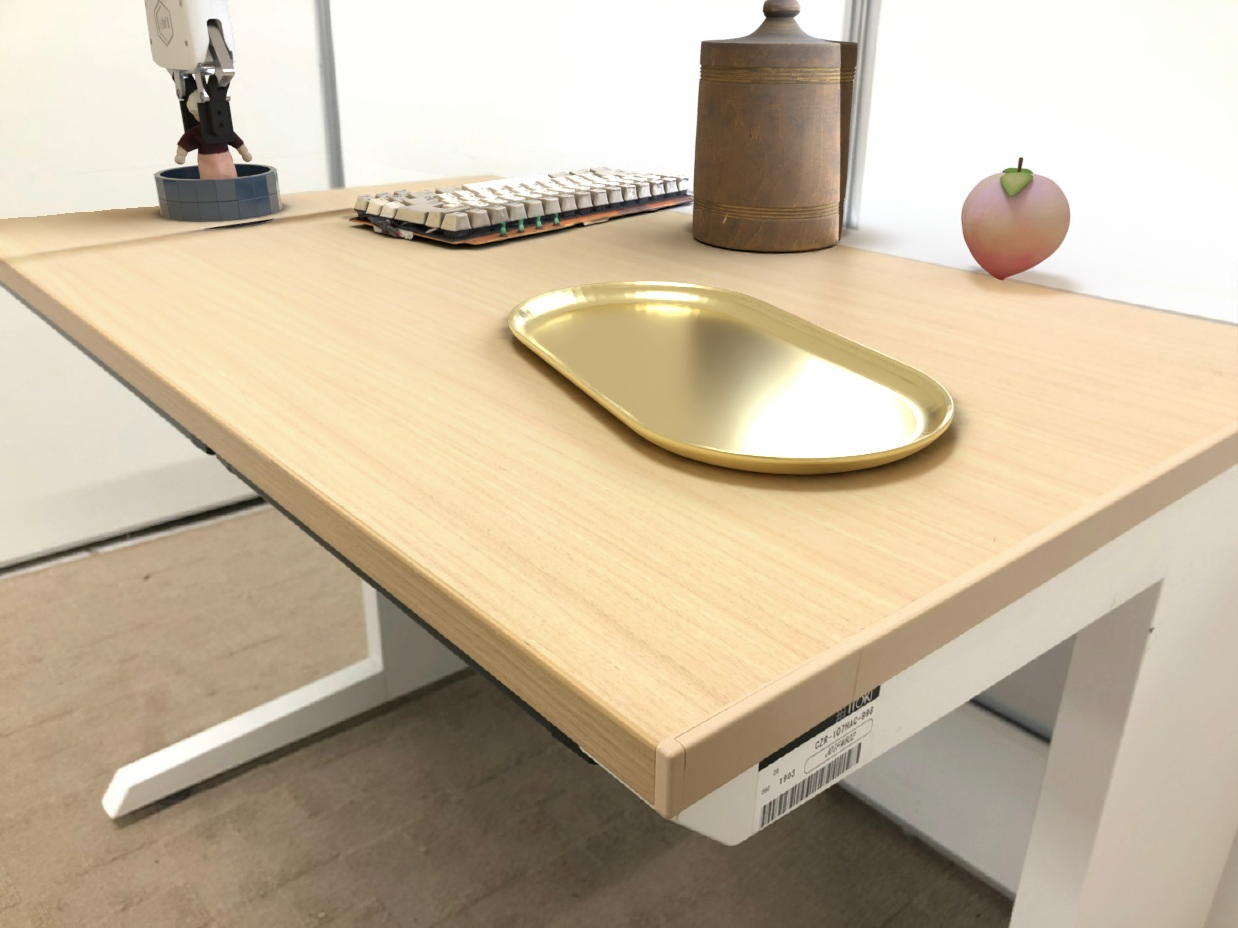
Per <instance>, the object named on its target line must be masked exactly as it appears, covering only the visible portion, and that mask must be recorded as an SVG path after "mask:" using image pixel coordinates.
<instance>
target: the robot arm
mask: <svg viewBox="0 0 1238 928" xmlns="http://www.w3.org/2000/svg"><path fill="white" fill-rule="evenodd" d="M228 1H229V0H144V8H145V16H146V23H147V31H148V38H149V46H150V53H151V58H152V61H153V62H154V63H155V64H156V65H157V66H159V67H160V68H162V69H166V71H167V72H168V74H169V75H170V77H171V79H172V81H173V82H174V86H175V94H176V98H177V100H178V102H179V109H180V114H181V120H182V126H183V131H184V133H185V132H186V131H187V130H189V129H191V128H192V127H195V126H198V125H200V126H201V132H202V138H203V142H204V143H206V144H216V143H227V142H233V141H234V140H235V136H234V132H235V131H234V124H233V117H232V110H231V104H230V101H231V99H232V98H231V92H230V87H231V86H230V85H231V81H232V80H233V78H234V77H235V75H236V69H235V66H234V65H235V64H236V61H237V51H236V44H235V43H236V42H235V41H236V40H235V35H234V34H235V33H234V29H233V27H234V26H233V22H232V15H231V11H230V5H229V2H228ZM206 77H208V78H206ZM197 89H198V92H199V97H200V100H201V103H197V108H198V114H199V120H200V122H199V121H197V120H196V118H195V117H194V115H193V114H192V113H191V112H189V109H188V107H187V101H188V98H189V96H190V95H191V93H194V91H195V90H197Z"/></svg>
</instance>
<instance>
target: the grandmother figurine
mask: <svg viewBox="0 0 1238 928" xmlns="http://www.w3.org/2000/svg"><path fill="white" fill-rule="evenodd" d="M197 103H201V100H200V97H199V92H198V89H197V90H195V91H194V93H191V95H190V96H189V98H188V101H187V107H188V109H189V112H191V113H192V114H193V115H194V117H195V118H196V120H197V121H199V122H200V120H199V114H198V108H197ZM234 136H235V140H234V141H233V142H227V143H216V144H206V143H204V142H203V138H202V132H201V126H200V125H198V126H195V127H192V128H191V129H189V130H187V131H186V132H184V133H183V134H181V137H180V138H179V140H178V141H177V143H176V145H177V149H176V155H175V156H174V163H175V164H176V165H179V166H180V165H181V166H182V165H184V164H185V163H186V157H187V156H188V154H189V153H190V152H194V151H196V150H197V156H196V157H197V165H198V167H199V173H200V179H223V178H236V177H238V176H237V172H236V168H235V165H234V163H235V162H234V159H233V155H232V153H231V151H230V149H229V146H230V147H232V148H233V149H235V150H236V151H237V153H238V154H239V155H240V157H241V158H242V161H244V162H245V163H251V162H252V161H253V155H252V154H251V153H250V152H249V149H248V148H247V146H246V144H245V141H244V140H243V139H242V138H241V137H240V136H239V135H238V134H237V133H236V132H235V131H234Z"/></svg>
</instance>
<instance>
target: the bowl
mask: <svg viewBox="0 0 1238 928" xmlns="http://www.w3.org/2000/svg"><path fill="white" fill-rule="evenodd" d="M234 165H235V168H236V172H237V176H238V177H236V178H223V179H200V173H199V167H198V164H195V165H194V164H193V165H184V166H178V167H171V168H166V169H162V170H158V171H156V172H155V173H153V179H154V185H155V191H156V197H157V202H158V207H159V212H160V216H161V217H162V218H164V219H167V220H171V221H178V222H191V223H192V222H196V223H197V222H198V223H206V222H207V223H209V222H229V221H230V222H231V221H240V220H248V219H255V218H260V217H265V216H270V215H273V214H275V213H278V212H280V211H281V210H282V208H283V205H282V197H281V190H280V184H279V183H280V182H279V176H278V175H279V174H278V169H277V168H276V167H274V166H272V165H268V164H259V163H239V162H238V163H237V162H236V163H235V162H234ZM273 220H275V218H274V217H273V218H268V219H262V220H261V219H259V220H255V221H254V220H253V221H247V222H239V223H233V224H226V225H218V226H212V227H205V228H203V229H204V230H208V229H209V230H216V229H233V228H241V227H243V228H244V227H249V226H255V225H260V224H264V223H268V222H270V221H273Z"/></svg>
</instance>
